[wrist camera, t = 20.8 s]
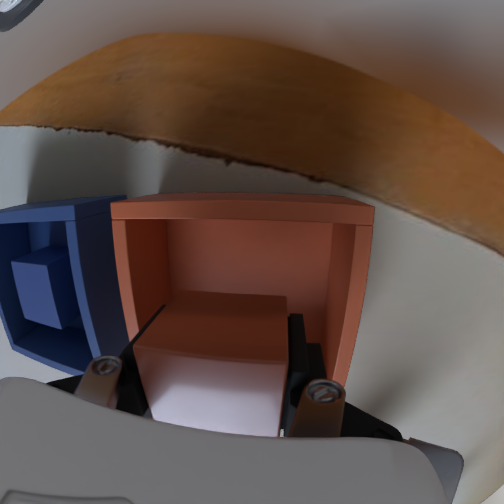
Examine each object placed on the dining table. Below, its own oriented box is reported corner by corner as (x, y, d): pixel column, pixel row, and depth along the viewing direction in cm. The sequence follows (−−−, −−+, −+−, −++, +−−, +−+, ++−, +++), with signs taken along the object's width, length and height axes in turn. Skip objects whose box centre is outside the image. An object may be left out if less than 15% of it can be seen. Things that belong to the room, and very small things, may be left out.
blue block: (48, 245, 18) (10, 260, 14) (86, 246, 18) (46, 265, 14) (58, 296, 20) (24, 318, 15) (96, 303, 19) (61, 330, 15)
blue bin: (26, 203, 18) (-21, 214, 13) (126, 194, 17) (74, 204, 12) (47, 322, 21) (12, 349, 16) (144, 345, 20) (111, 388, 15)
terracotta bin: (157, 193, 17) (109, 202, 12) (345, 196, 16) (375, 206, 11) (172, 349, 20) (143, 396, 15) (326, 360, 19) (336, 414, 14)
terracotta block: (179, 288, 12) (131, 345, 7) (286, 294, 11) (288, 362, 7) (188, 371, 13) (158, 437, 8) (280, 379, 12) (277, 453, 8)
